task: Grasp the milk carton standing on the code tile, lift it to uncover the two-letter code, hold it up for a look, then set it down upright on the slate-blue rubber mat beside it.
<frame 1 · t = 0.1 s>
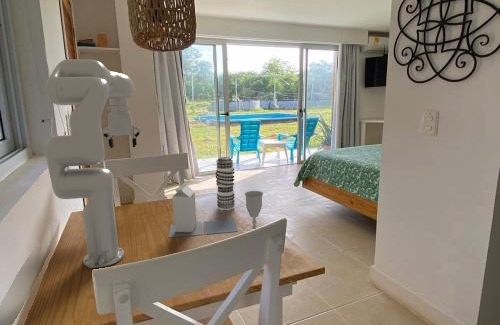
hand: (123, 147, 143), 31 cm above the table, fingers open, 9 cm apart
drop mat: (219, 226, 130), on the table
code tile: (185, 229, 128), on the table
decorative candle: (226, 207, 152), on the table
chalice: (254, 239, 119), on the table
milk carton: (185, 229, 128), resting on code tile
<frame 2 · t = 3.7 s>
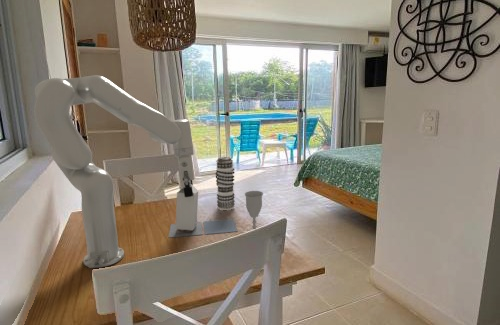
hand: (189, 192, 126), 16 cm above the table, fingers open, 9 cm apart
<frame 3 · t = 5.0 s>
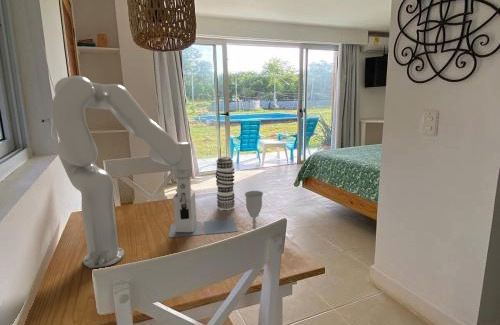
hand: (185, 214, 126), 7 cm above the table, fingers closed on milk carton, 8 cm apart
milk carton: (186, 229, 128), resting on code tile, touching gripper
everything else where it was.
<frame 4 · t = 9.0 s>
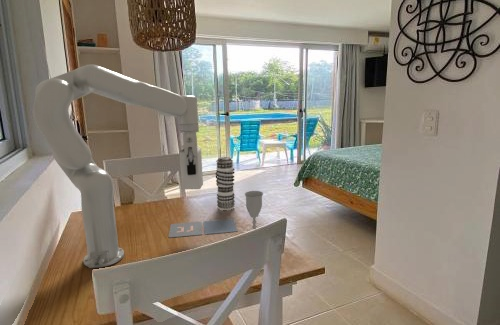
hand: (191, 171, 124), 24 cm above the table, fingers closed on milk carton, 8 cm apart
milk carton: (192, 187, 125), point 18 cm above the table, touching gripper
everything else where it was.
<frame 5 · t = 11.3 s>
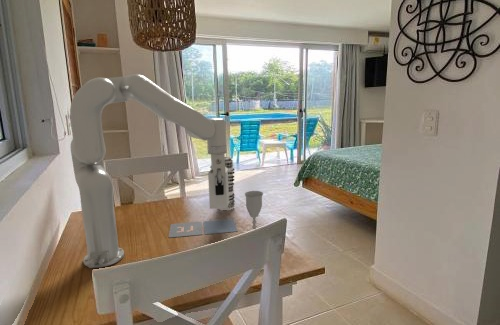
hand: (218, 191, 127), 15 cm above the table, fingers closed on milk carton, 8 cm apart
milk carton: (219, 206, 129), point 9 cm above the table, touching gripper
everything else where it was.
when the fingers open (8 cm above the table, at t = 13.3 s): milk carton drops 1 cm, resting on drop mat.
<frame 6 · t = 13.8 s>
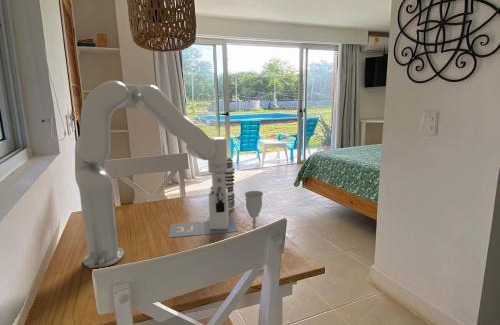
hand: (219, 207, 129), 8 cm above the table, fingers open, 9 cm apart
milk carton: (219, 226, 130), resting on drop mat
everything else where it was.
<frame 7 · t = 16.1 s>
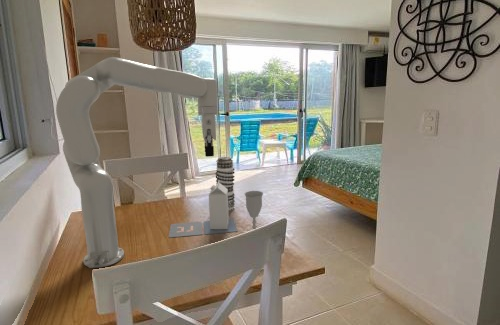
hand: (209, 154, 125), 31 cm above the table, fingers open, 9 cm apart
nothing on the table moved.
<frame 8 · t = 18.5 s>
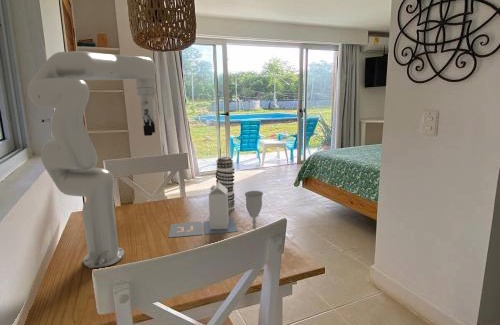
hand: (149, 134, 131), 38 cm above the table, fingers open, 9 cm apart
nothing on the table moved.
at the end: milk carton inside the target area on the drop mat (0.1 cm from its centre), point 0.0 cm above the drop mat's base; milk carton tilted 0°; the gripper is holding nothing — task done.
